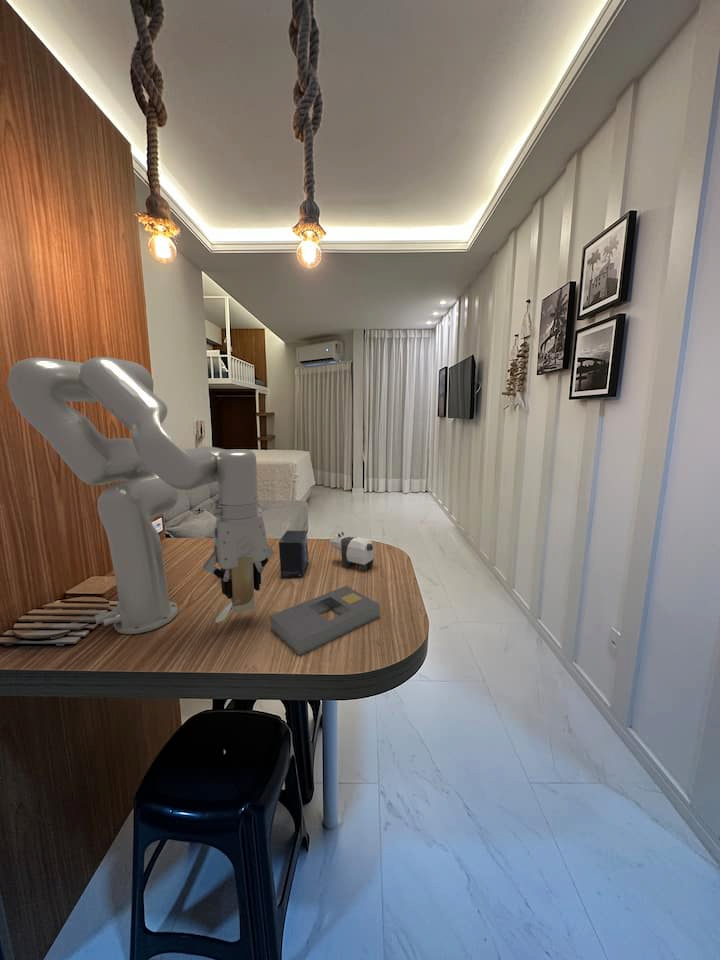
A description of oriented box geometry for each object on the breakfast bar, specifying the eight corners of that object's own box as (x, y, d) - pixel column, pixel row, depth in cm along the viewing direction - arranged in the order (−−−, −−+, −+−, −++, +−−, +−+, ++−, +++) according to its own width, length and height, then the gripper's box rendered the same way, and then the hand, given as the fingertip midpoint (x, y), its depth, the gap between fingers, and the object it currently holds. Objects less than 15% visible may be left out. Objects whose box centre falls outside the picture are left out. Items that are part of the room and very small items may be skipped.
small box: (304, 578, 103) (301, 541, 102) (280, 578, 104) (277, 542, 102) (309, 562, 114) (307, 529, 112) (288, 563, 114) (285, 530, 112)
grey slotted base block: (299, 655, 70) (298, 640, 70) (270, 629, 79) (269, 615, 79) (379, 616, 82) (379, 603, 82) (346, 597, 92) (346, 585, 91)
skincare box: (230, 599, 83) (228, 547, 81) (251, 596, 85) (249, 544, 83) (233, 614, 78) (230, 557, 75) (255, 610, 79) (253, 555, 77)
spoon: (258, 586, 100) (257, 580, 100) (220, 631, 80) (219, 623, 80) (243, 586, 101) (242, 580, 100) (202, 630, 81) (201, 623, 80)
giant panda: (377, 566, 109) (376, 535, 107) (367, 573, 104) (366, 540, 103) (337, 557, 117) (335, 528, 115) (326, 563, 113) (324, 533, 111)
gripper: (201, 521, 69) (206, 612, 73) (285, 507, 80) (286, 587, 83) (189, 512, 75) (195, 597, 78) (269, 500, 86) (271, 575, 89)
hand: (242, 591), depth 81 cm, fingers closed on skincare box, 5 cm apart
